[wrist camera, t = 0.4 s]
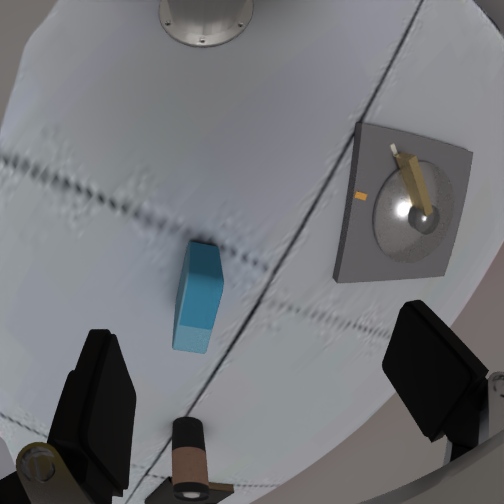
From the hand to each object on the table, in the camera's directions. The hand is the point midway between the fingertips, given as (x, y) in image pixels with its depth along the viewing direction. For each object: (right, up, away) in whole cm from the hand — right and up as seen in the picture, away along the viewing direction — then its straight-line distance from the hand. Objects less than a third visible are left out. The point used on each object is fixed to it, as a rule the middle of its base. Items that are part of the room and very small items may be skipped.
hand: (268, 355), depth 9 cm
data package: (-9, 0, +38) cm, 39 cm away
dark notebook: (-25, -87, +76) cm, 118 cm away
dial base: (+27, +11, +39) cm, 49 cm away
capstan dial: (+27, +11, +37) cm, 47 cm away
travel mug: (-16, -38, +54) cm, 68 cm away
